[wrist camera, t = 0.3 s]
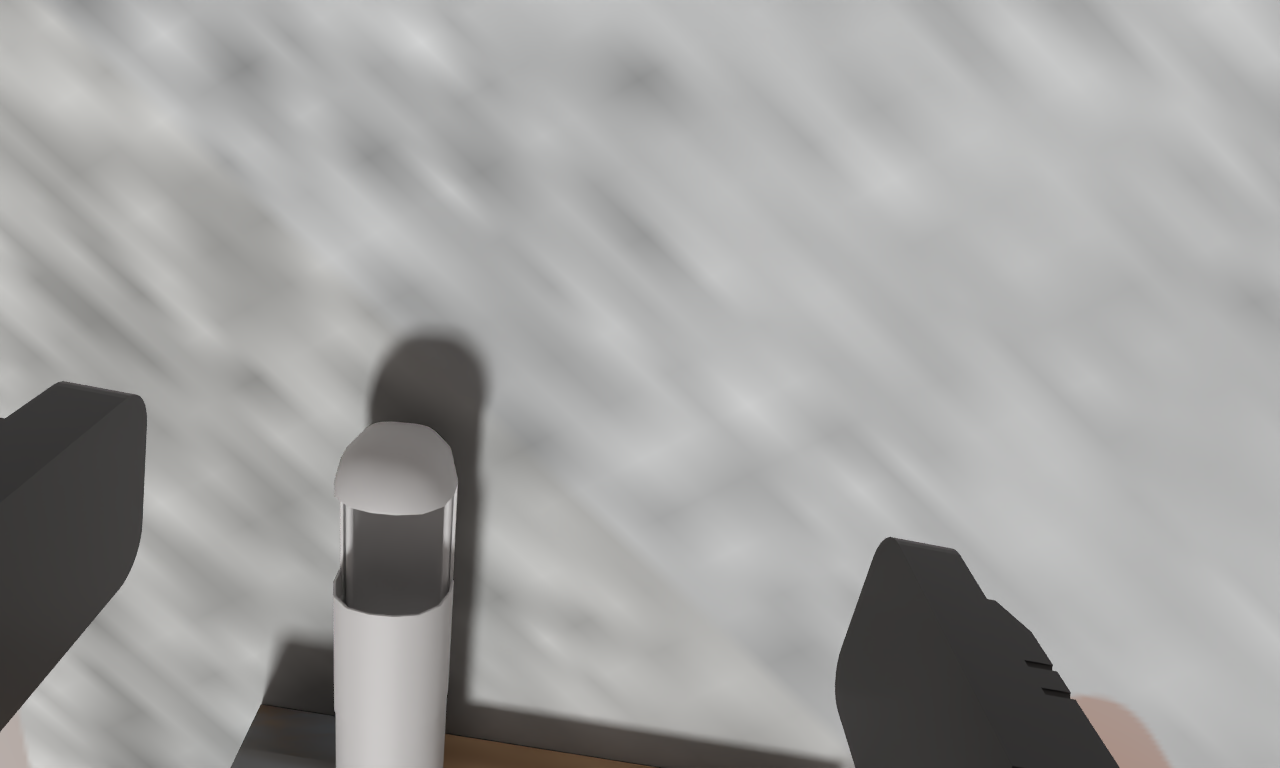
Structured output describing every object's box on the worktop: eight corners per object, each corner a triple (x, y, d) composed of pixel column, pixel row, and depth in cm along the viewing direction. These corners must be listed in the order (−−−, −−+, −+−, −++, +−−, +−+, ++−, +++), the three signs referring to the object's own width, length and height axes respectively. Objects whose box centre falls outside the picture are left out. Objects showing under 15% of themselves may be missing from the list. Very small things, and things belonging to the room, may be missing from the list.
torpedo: (326, 393, 29) (247, 510, 23) (487, 409, 29) (451, 528, 23) (334, 837, 36) (276, 1013, 30) (463, 846, 37) (431, 1023, 31)
